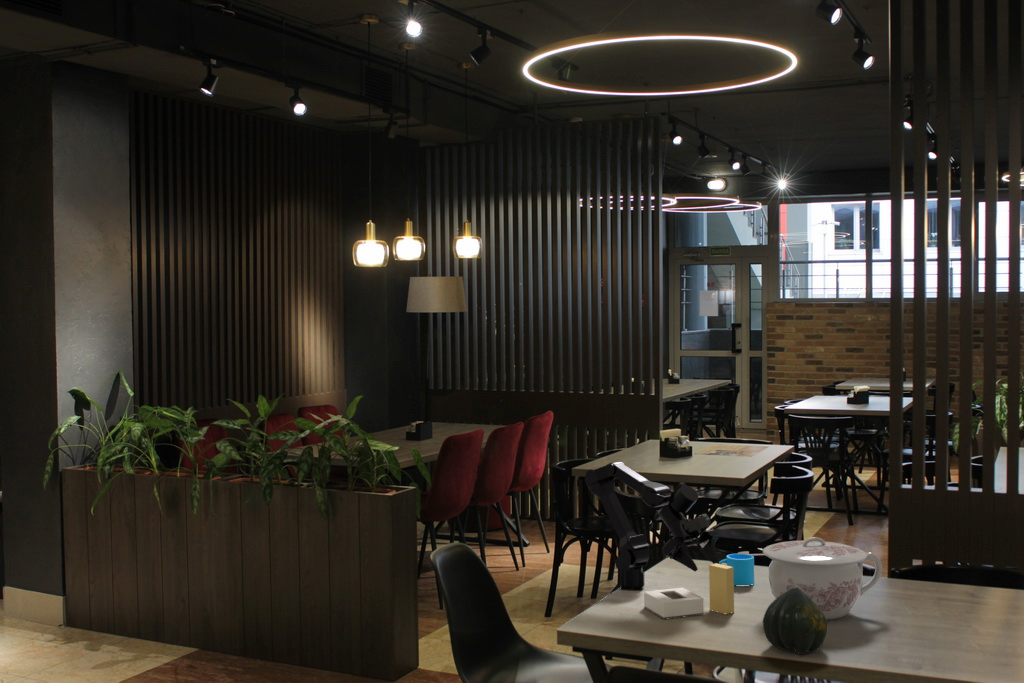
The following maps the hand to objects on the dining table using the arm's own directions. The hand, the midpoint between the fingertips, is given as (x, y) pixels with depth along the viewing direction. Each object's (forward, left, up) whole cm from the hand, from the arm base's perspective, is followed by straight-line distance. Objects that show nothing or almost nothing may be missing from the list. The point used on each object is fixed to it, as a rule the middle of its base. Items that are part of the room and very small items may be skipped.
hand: (707, 567), depth 280 cm
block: (+4, -3, -11) cm, 12 cm away
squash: (+22, -32, -11) cm, 40 cm away
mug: (+7, +28, -11) cm, 31 cm away
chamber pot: (+29, -1, -11) cm, 31 cm away
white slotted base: (-9, -5, -11) cm, 15 cm away
